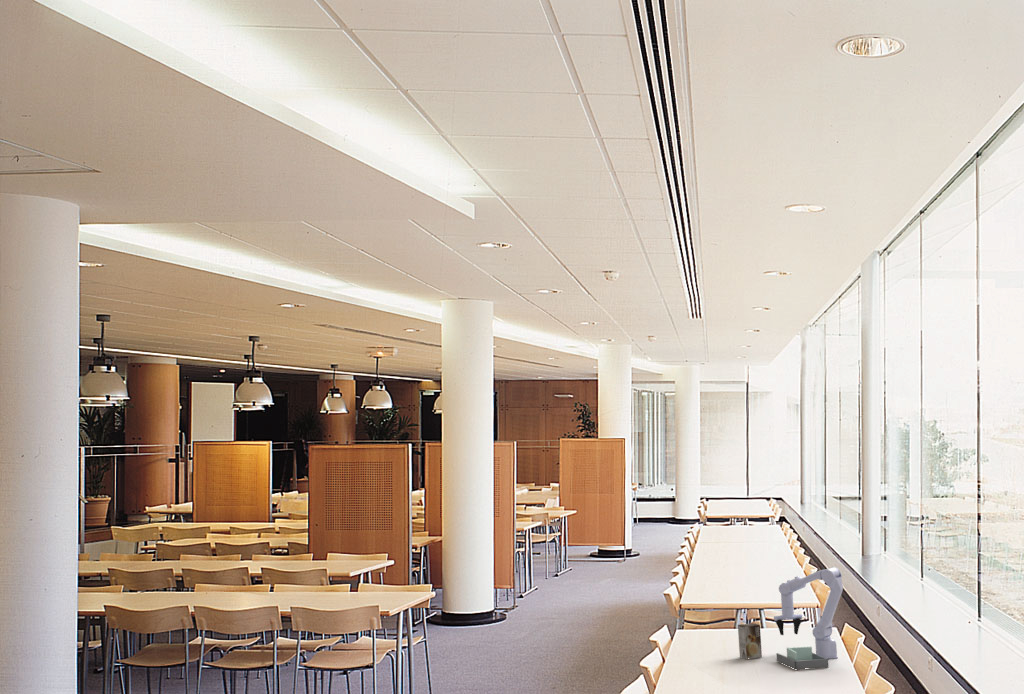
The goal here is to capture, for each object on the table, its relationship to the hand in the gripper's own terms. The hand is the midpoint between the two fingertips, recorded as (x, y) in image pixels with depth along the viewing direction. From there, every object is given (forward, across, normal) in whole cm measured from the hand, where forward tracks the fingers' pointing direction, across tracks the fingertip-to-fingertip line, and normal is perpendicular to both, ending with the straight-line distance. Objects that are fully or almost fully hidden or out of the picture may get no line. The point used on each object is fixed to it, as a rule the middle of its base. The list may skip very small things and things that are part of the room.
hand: (789, 634), depth 528 cm
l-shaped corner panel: (+10, +6, +26) cm, 29 cm away
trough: (+9, +6, +25) cm, 27 cm away
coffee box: (+10, +22, +2) cm, 24 cm away
